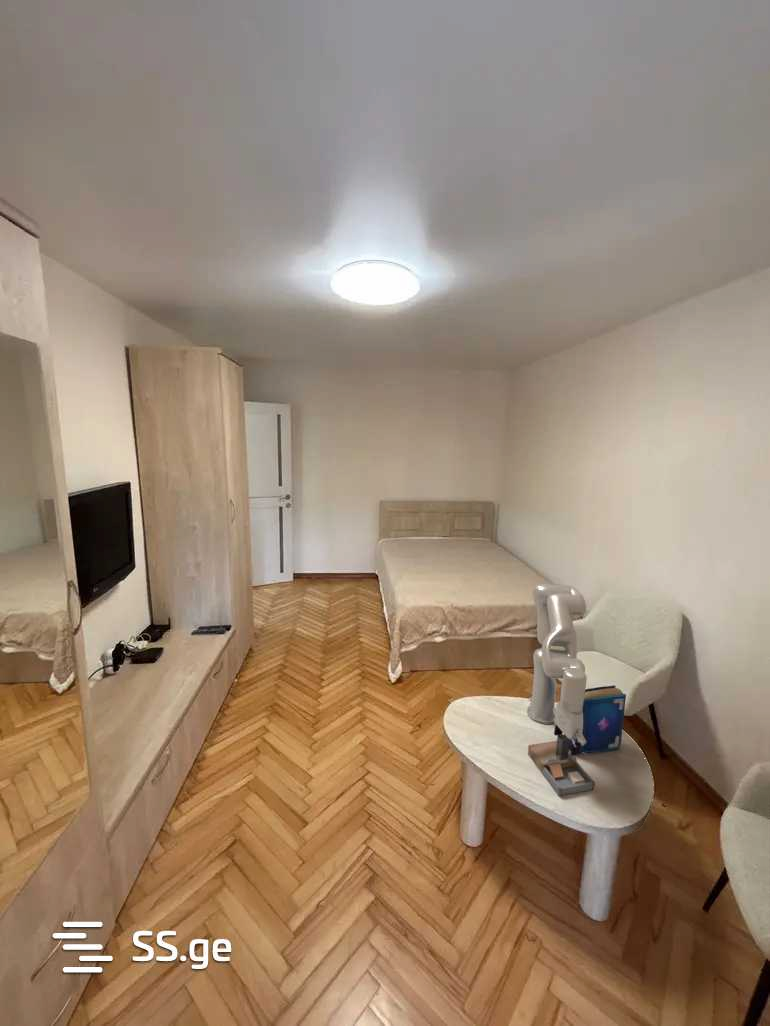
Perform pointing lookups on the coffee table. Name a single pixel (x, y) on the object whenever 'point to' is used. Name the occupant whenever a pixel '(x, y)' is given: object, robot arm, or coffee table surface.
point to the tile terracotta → (556, 770)
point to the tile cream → (575, 777)
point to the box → (565, 785)
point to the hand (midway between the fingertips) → (566, 744)
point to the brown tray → (545, 755)
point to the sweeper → (561, 752)
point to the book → (602, 719)
